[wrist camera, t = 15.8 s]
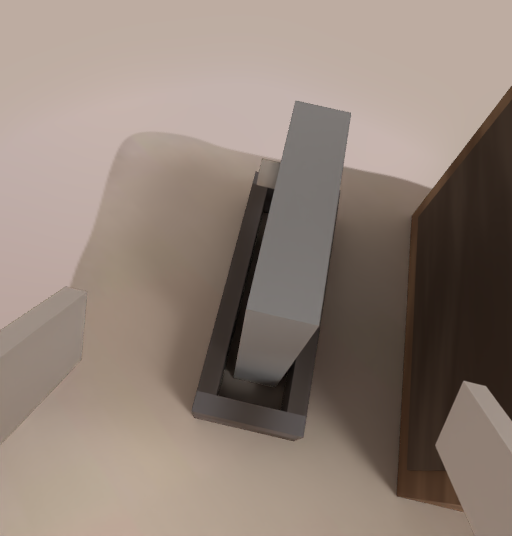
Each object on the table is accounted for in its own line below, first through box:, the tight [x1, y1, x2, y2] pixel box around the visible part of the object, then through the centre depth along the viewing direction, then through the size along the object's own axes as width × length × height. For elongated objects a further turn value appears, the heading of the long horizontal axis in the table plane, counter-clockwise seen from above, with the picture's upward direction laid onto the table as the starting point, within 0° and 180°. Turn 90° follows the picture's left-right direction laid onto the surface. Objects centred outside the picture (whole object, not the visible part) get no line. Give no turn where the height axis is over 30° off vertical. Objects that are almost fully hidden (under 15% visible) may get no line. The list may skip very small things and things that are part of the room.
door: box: [234, 101, 351, 387], centre depth 26 cm, size 4×12×14 cm, turn 168°
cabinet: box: [192, 86, 512, 512], centre depth 25 cm, size 26×22×16 cm
